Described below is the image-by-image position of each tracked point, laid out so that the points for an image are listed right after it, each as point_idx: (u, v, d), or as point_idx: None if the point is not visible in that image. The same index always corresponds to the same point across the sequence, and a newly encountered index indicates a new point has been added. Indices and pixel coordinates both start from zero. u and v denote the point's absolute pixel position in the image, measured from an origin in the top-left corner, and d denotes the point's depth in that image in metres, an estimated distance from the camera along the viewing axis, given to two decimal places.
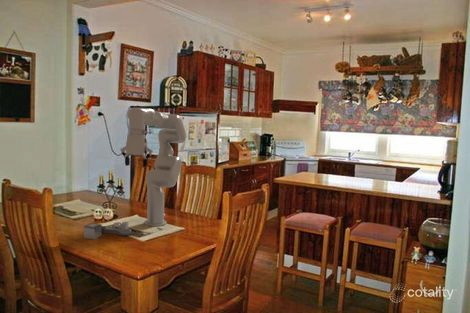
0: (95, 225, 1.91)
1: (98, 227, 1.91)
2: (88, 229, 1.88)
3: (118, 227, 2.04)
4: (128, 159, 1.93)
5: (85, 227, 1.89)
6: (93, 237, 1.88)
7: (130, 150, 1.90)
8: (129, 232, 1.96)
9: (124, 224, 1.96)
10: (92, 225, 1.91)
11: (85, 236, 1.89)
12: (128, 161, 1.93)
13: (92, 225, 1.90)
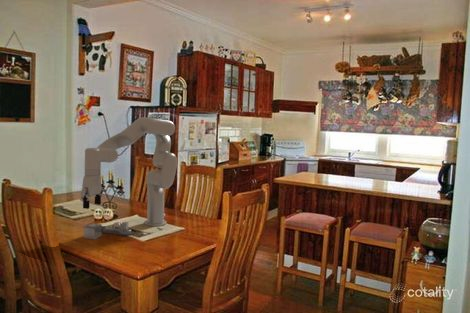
0: (95, 225, 1.91)
1: (98, 227, 1.91)
2: (88, 229, 1.88)
3: (118, 227, 2.04)
4: None
5: (85, 227, 1.89)
6: (93, 237, 1.88)
7: (93, 191, 1.86)
8: (129, 232, 1.96)
9: (124, 224, 1.96)
10: (92, 225, 1.91)
11: (85, 236, 1.89)
12: None
13: (92, 225, 1.90)
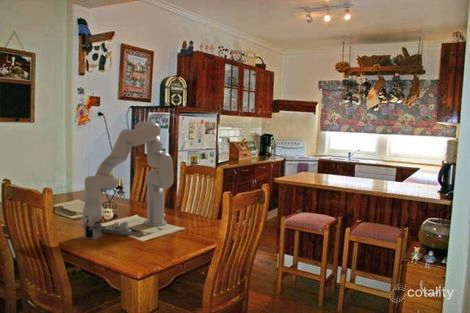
0: (95, 225, 1.91)
1: (98, 227, 1.91)
2: None
3: (118, 227, 2.04)
4: None
5: None
6: (93, 237, 1.88)
7: (94, 219, 1.88)
8: (129, 232, 1.96)
9: (124, 224, 1.96)
10: (92, 225, 1.91)
11: (85, 236, 1.89)
12: None
13: (92, 225, 1.90)
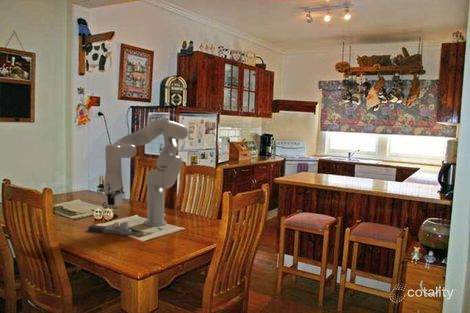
0: (116, 193, 1.93)
1: (119, 195, 1.93)
2: None
3: (118, 227, 2.04)
4: None
5: None
6: (115, 204, 1.91)
7: (115, 187, 1.90)
8: (129, 232, 1.96)
9: (124, 224, 1.96)
10: (113, 193, 1.93)
11: (107, 204, 1.92)
12: None
13: (113, 193, 1.93)
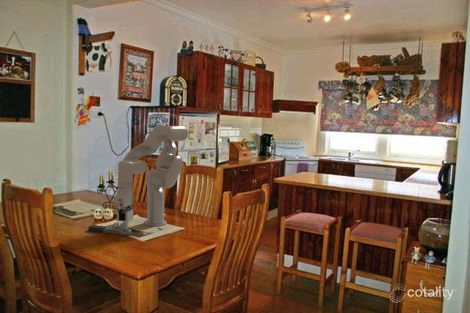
0: (127, 208, 1.96)
1: (130, 210, 1.96)
2: None
3: (118, 227, 2.04)
4: None
5: None
6: (126, 220, 1.93)
7: (127, 203, 1.93)
8: (129, 232, 1.96)
9: (124, 224, 1.96)
10: (125, 208, 1.96)
11: (118, 219, 1.94)
12: None
13: None
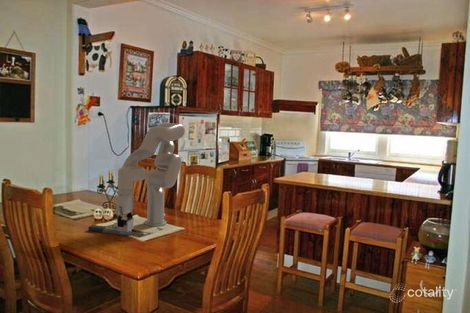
0: (127, 218, 1.96)
1: (130, 220, 1.96)
2: None
3: None
4: None
5: None
6: (126, 230, 1.94)
7: (127, 210, 1.94)
8: (129, 232, 1.96)
9: None
10: (125, 218, 1.96)
11: (118, 229, 1.95)
12: None
13: (124, 218, 1.96)
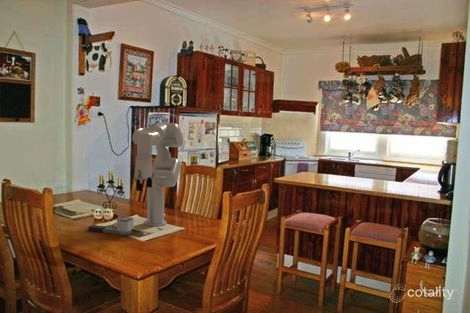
0: (127, 218, 1.96)
1: (130, 220, 1.96)
2: (121, 222, 1.94)
3: None
4: None
5: (118, 220, 1.94)
6: (126, 230, 1.94)
7: (146, 174, 1.92)
8: (129, 232, 1.96)
9: None
10: (125, 218, 1.96)
11: (118, 229, 1.95)
12: None
13: (124, 218, 1.96)
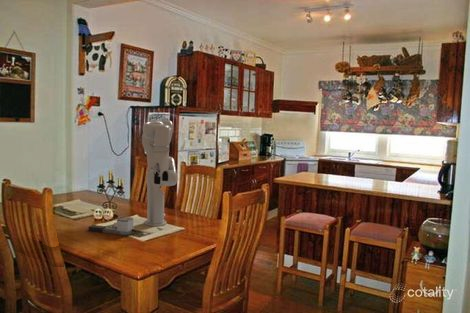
0: (127, 218, 1.96)
1: (130, 220, 1.96)
2: (121, 222, 1.94)
3: None
4: None
5: (118, 220, 1.94)
6: (126, 230, 1.94)
7: (163, 167, 1.91)
8: (129, 232, 1.96)
9: None
10: (125, 218, 1.96)
11: (118, 229, 1.95)
12: None
13: (124, 218, 1.96)
